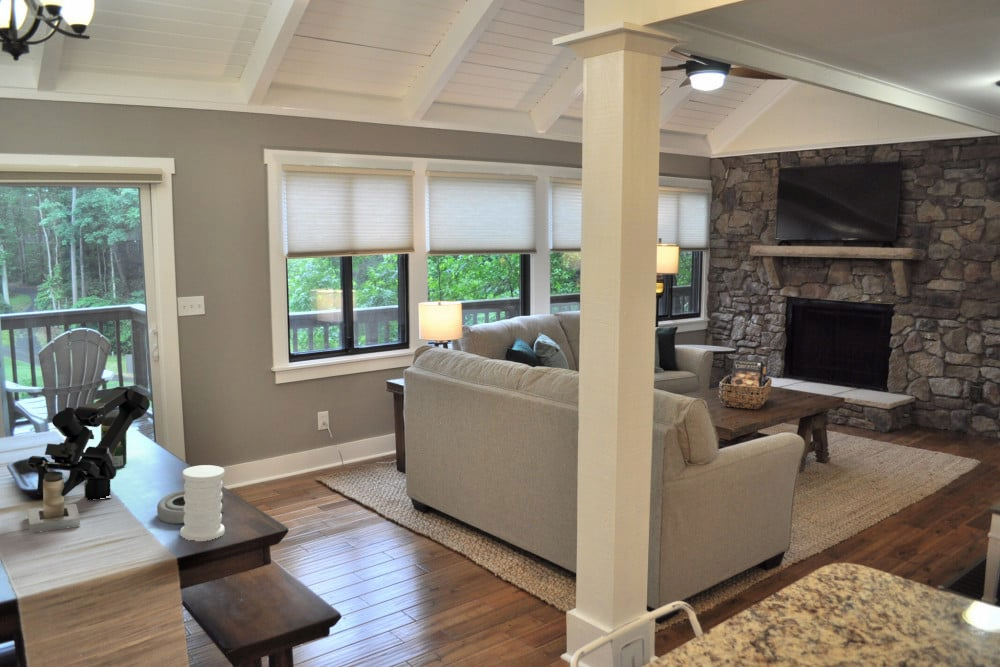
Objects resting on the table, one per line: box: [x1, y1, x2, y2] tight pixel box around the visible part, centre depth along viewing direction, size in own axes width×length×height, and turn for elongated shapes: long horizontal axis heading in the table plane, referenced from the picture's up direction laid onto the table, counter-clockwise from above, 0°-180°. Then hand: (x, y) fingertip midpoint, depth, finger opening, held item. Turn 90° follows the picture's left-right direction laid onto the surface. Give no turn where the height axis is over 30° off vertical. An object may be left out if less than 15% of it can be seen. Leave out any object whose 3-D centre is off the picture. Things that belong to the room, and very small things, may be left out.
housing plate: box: [27, 503, 81, 534], centre depth 223 cm, size 12×12×2 cm
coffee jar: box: [100, 410, 128, 469], centre depth 273 cm, size 10×8×19 cm
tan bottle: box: [42, 471, 65, 519], centre depth 222 cm, size 5×5×14 cm
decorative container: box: [179, 464, 226, 542], centre depth 221 cm, size 12×12×18 cm
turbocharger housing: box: [156, 489, 225, 525], centre depth 235 cm, size 17×6×15 cm
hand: (50, 494), depth 220 cm, fingers open, 7 cm apart
